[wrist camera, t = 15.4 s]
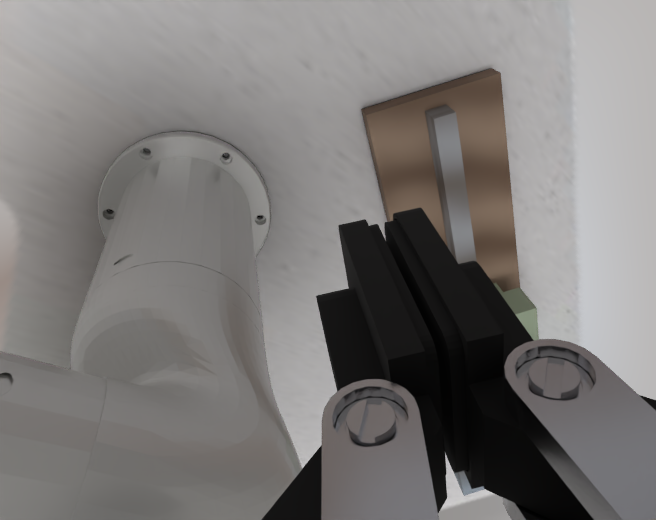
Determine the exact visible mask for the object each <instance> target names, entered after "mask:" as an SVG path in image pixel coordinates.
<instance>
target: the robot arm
mask: <svg viewBox="0 0 656 520" xmlns="http://www.w3.org/2000/svg"><path fill="white" fill-rule="evenodd" d="M144 148H147V149H150V151H151V152H150V153H146V152H145V151H144ZM224 153H228V154H229V157H227V158H225V157H223V154H224ZM108 209H111V210H113V212H110V211H109V210H108ZM97 211H98V218H99V225H100V227H101V230H102V233H103V235H104V238H105V240H106V243H105V245H104V248H103V251H102V254H101V256H100V259H99V262H98V265H97V268H96V270H95V273H94V276H93V279H92V282H91V284H90V287H89V290H88V293H87V296H86V298H85V301H84V304H83V307H82V309H81V312H80V315H79V318H78V321H77V324H76V327H75V329H74V333H73V338H72V343H71V353H70V366H71V370H70V369H66V368H62V367H59V366H55V365H51V364H47V363H43V362H40V361H36V360H32V359H28V358H24V357H21V356H17V355H13V354H9V353H5V352H2V351H0V520H439V516H438V513H439V511H440V509H441V508H442V506H443V504H444V502H445V501H446V499H447V490H446V477H445V475H446V462H445V453H446V455H447V458H448V460H449V463H450V465H451V467H452V470H453V471H454V472H455V473H458V472H462V471H464V472H465V475H466V477H467V479H468V482H469V484H470V486H471V489H474V488H479V487H484V489H486V490H488V491H490V492H492V493H495V494H497V495H499V496H501V497H503V504H504V506H505V508H506V511H507V513H508V515H509V516H510V518H511V519H512V520H656V400H653V399H650V398H647V397H643V396H640V395H638V394H637V393H636V392H635V391H633V389H631V388H630V387H629V386H628V385H627V384H626V383H625V382H624V381H623V380H622V379H621V378H619V377H618V376H617V375H616V374H615V373H614V372H613V371H612V370H611V369H610V368H608V367H607V366H606V365H605V364H604V363H603V362H602V361H601V360H600V359H599V358H597V357H596V356H595V355H593V354H592V353H591V352H589V351H588V350H586V349H585V348H583V347H581V346H578V345H576V344H573V343H571V342H566V341H561V340H556V339H539V340H535V341H534V340H533V339H532V337H531V336H530V334H529V333H528V332H527V330H526V329H525V327H524V326H523V325H522V323H521V322H520V320H519V319H518V318H517V316H516V315H515V313H514V312H513V311H512V309H511V308H510V306H509V305H508V304H507V302H506V301H505V299H504V298H503V297H502V295H501V294H500V292H499V291H498V290H497V288H496V287H495V285H494V284H493V283H492V281H491V280H490V278H489V277H488V276H487V274H486V273H485V271H484V270H483V269H482V267H481V266H480V265H479V264H478V263H477V262H476V261H469V262H465V263H460V264H458V262H457V261H456V259H455V258H454V256H453V255H452V253H451V252H450V250H449V249H448V247H447V246H446V244H445V243H444V241H443V240H442V238H441V236H440V235H439V233H438V232H437V230H436V229H435V227H434V226H433V224H432V223H431V221H430V220H429V218H428V217H427V215H426V214H425V212H424V211H423V209H422V208H415V209H411V210H406V211H401V212H397V213H394V214H393V221H389V222H385V235H386V241H385V239H384V237H383V234H382V232H381V230H380V228H379V226H378V225H377V224H375V225H371V226H368V223H367V221H366V220H360V221H356V222H351V223H347V224H342V225H339V234H340V240H341V245H342V251H343V257H344V263H345V268H346V274H347V280H348V286H349V289H344V290H340V291H335V292H331V293H327V294H322V295H318V296H316V297H317V302H318V307H319V311H320V316H321V321H322V325H323V330H324V334H325V339H326V344H327V348H328V352H329V357H330V361H331V366H332V370H333V374H334V379H335V383H336V387H337V393H335V394H334V395H333V396H332V397H331V398H330V400H329V401H328V403H327V405H326V406H325V408H324V412H323V417H322V445H321V447H320V448H319V449H318V450H317V452H316V453H315V454H314V455H313V456H312V458H311V459H310V460H309V461H308V463H307V464H306V465H305V466H304V468H303V469H302V467H301V464H300V461H299V458H298V455H297V453H296V450H295V447H294V445H293V442H292V440H291V437H290V435H289V432H288V430H287V428H286V425H285V423H284V421H283V418H282V416H281V414H280V411H279V408H278V406H277V403H276V400H275V397H274V394H273V390H272V386H271V382H270V377H269V372H268V367H267V360H266V353H265V345H264V336H263V323H262V314H261V305H260V295H259V286H258V277H257V267H256V258H255V257H256V256H257V255H258V253H259V251H260V250H261V248H262V246H263V245H264V243H265V240H266V238H267V235H268V232H269V228H270V220H271V210H270V200H269V196H268V191H267V189H266V186H265V184H264V181H263V179H262V177H261V175H260V174H259V172H258V171H257V169H256V168H255V166H254V165H253V164H252V163H251V162H250V161H249V160H248V159H247V158H246V157H245V156H244V155H243V154H242V153H241V152H240V151H238V150H237V149H235V148H234V147H233V146H231V145H230V144H228V143H226V142H224V141H221V140H219V139H217V138H215V137H212V136H208V135H204V134H200V133H196V132H183V131H176V132H167V133H160V134H157V135H154V136H151V137H147V138H144V139H143V140H141V141H139V142H137V143H135V144H133V145H132V146H130V147H129V148H128V149H126V150H125V151H124V152H123V153H122V154H121V155H119V156H118V157H117V159H116V160H115V161H114V163H113V164H112V165H111V167H110V168H109V169H108V171H107V174H106V176H105V177H104V179H103V182H102V185H101V188H100V191H99V195H98V207H97ZM258 215H263V216H262V217H257V216H258Z"/></svg>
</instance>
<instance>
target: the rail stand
mask: <svg viewBox="0 0 656 520" xmlns="http://www.w3.org/2000/svg"><path fill="white" fill-rule="evenodd" d="M361 110H362V114H363V118H364V123H365V127H366V131H367V136H368V140H369V144H370V148H371V153H372V157H373V161H374V166H375V170H376V174H377V178H378V183H379V187H380V191H381V196H382V200H383V204H384V209H385V213H386V217H387V221H388V222H389V221H393V214H394V213H397V212H401V211H406V210H411V209H415V208H422V209H423V211H424V212H425V214H426V215H427V217H428V218H429V220H430V221H431V223H432V224H433V226H434V227H435V229H436V230H437V232H438V233H439V235H440V236H441V238H442V240H443V241H444V243H445V244H446V246H447V247H448V249H449V250H450V252H451V253H452V255H453V256H454V258H455V259H456V261H457V262H458V264H460V263H465V262H469V261H476V262H477V263H478V264H479V265H480V266H481V267H482V269H483V270H484V271H485V273H486V274H487V276H488V277H489V278H490V280H491V281H492V283H497V285H498V286H499V287H500V288H501V290H502V291H503V292H506V291H509V290H512V289H515V288H518V287H520V282H519V271H518V260H517V249H516V238H515V227H514V216H513V205H512V194H511V183H510V172H509V161H508V150H507V139H506V128H505V117H504V106H503V95H502V84H501V73H500V72H498V71H496V70H494V69H492V68H491V69H488V70H485V71H482V72H479V73H475V74H472V75H469V76H466V77H463V78H460V79H456V80H453V81H450V82H447V83H444V84H441V85H437V86H434V87H431V88H428V89H425V90H422V91H418V92H415V93H412V94H409V95H406V96H402V97H399V98H396V99H393V100H390V101H387V102H383V103H380V104H377V105H374V106H371V107H368V108H364V109H361ZM454 474H455V476H456V478H457V481H458V483H459V485H460V488H461V490H462V492H463V495H464V496H465V495H468V494H471V493H474V492H477V491H480V490H483V489H484V487H479V488H474V489H471V486H470V484H469V482H468V479H467V477H466V475H465V472H464V471H462V472H458V473H455V472H454Z"/></svg>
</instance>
